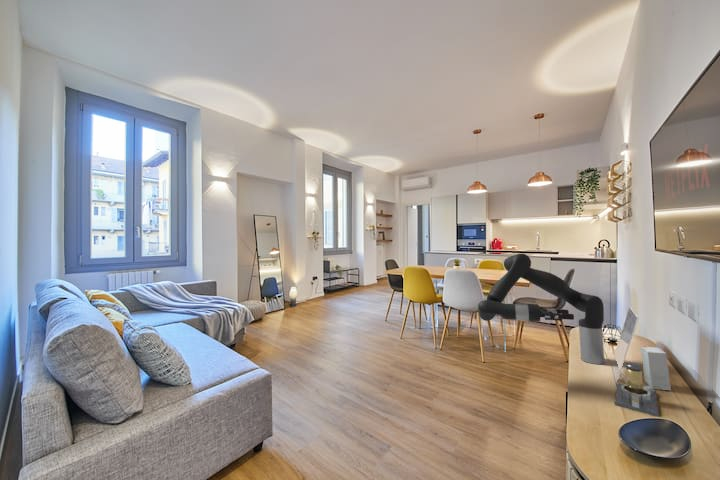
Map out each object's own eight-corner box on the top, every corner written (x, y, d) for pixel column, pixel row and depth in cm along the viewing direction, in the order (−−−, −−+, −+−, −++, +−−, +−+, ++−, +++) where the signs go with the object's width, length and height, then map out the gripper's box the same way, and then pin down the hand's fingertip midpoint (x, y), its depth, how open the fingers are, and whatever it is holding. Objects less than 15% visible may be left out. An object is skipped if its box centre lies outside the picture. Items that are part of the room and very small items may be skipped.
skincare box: (671, 391, 112) (668, 353, 113) (650, 388, 115) (647, 351, 116) (662, 382, 119) (659, 347, 120) (642, 380, 122) (640, 345, 123)
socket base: (617, 385, 119) (617, 376, 119) (655, 393, 111) (655, 384, 111) (615, 405, 105) (614, 395, 105) (658, 416, 97) (657, 406, 97)
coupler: (627, 392, 111) (625, 361, 112) (644, 396, 108) (641, 364, 108) (627, 396, 108) (625, 364, 108) (644, 401, 105) (642, 368, 105)
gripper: (528, 307, 120) (575, 309, 114) (524, 301, 133) (566, 302, 127) (529, 325, 120) (576, 328, 113) (525, 317, 133) (567, 319, 126)
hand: (570, 314), depth 120 cm, fingers open, 8 cm apart
